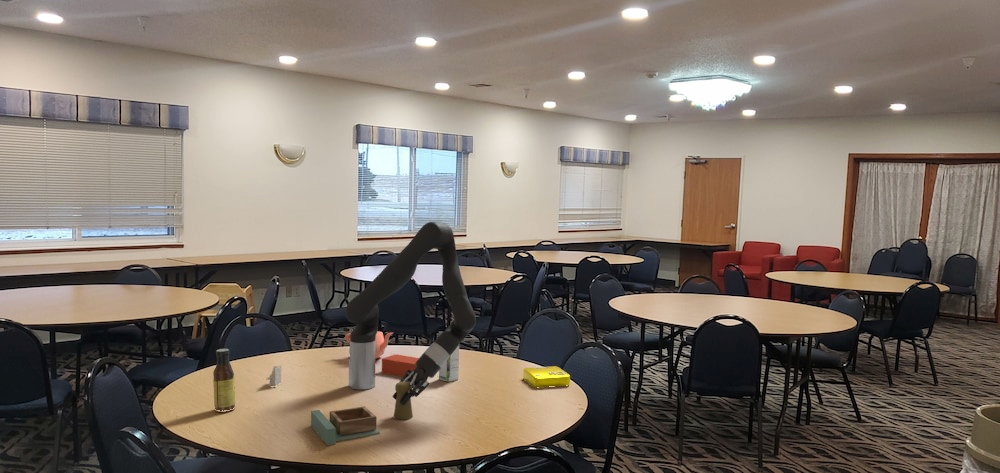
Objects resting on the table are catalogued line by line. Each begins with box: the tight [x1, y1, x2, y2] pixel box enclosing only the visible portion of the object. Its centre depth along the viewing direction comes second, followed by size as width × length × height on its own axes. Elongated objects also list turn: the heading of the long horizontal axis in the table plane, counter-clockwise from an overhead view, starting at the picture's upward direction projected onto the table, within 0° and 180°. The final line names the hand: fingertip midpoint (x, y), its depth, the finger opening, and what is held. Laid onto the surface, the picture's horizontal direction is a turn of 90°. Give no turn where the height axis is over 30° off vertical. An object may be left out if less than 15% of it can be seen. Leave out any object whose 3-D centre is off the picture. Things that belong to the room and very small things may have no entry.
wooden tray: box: [329, 406, 378, 436], centre depth 195 cm, size 11×11×4 cm
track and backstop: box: [310, 409, 381, 446], centre depth 194 cm, size 18×16×5 cm
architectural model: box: [265, 364, 283, 387], centre depth 239 cm, size 3×7×7 cm, turn 176°
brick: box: [381, 354, 420, 377], centre depth 259 cm, size 18×9×6 cm, turn 61°
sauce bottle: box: [212, 348, 236, 411], centre depth 210 cm, size 7×6×20 cm
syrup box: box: [438, 344, 460, 383], centre depth 251 cm, size 6×6×14 cm
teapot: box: [344, 331, 394, 359], centre depth 280 cm, size 17×16×13 cm
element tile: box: [522, 365, 571, 389], centre depth 250 cm, size 15×15×5 cm
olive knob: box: [393, 381, 414, 420], centre depth 207 cm, size 6×6×11 cm
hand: (398, 401), depth 206 cm, fingers closed on olive knob, 5 cm apart
